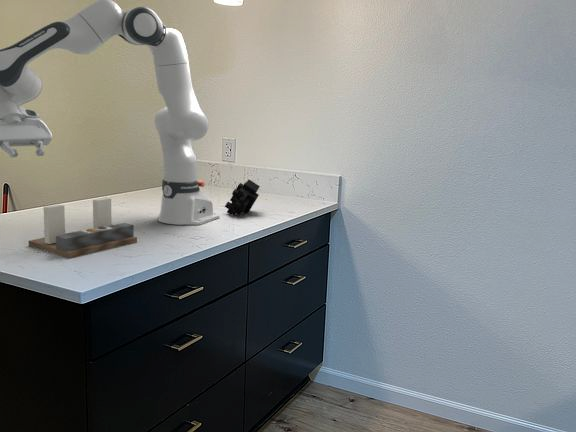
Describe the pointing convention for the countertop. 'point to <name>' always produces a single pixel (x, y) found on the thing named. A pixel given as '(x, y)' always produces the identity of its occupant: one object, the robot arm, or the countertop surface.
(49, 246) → the console
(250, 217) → the countertop surface
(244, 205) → the toy
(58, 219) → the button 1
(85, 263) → the countertop surface
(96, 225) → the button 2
